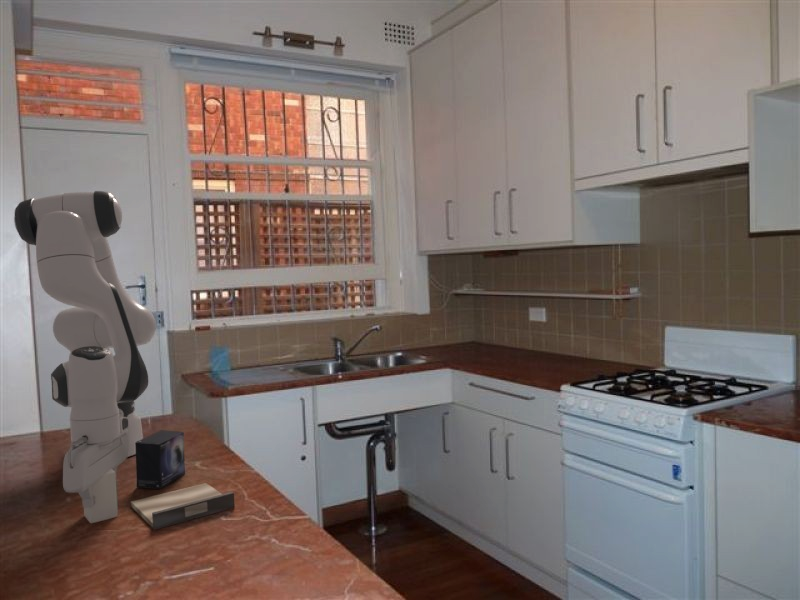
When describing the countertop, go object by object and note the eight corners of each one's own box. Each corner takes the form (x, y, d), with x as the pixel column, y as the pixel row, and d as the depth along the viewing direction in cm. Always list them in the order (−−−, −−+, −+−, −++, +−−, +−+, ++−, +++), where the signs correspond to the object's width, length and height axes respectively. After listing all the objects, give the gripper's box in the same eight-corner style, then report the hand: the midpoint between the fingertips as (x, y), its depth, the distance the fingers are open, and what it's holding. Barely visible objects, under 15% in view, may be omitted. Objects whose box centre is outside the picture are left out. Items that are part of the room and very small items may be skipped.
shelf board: (130, 506, 132) (130, 492, 132) (206, 487, 142) (205, 474, 142) (155, 530, 120) (154, 514, 120) (235, 507, 130) (234, 493, 130)
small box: (161, 490, 141) (159, 443, 140) (135, 488, 142) (132, 442, 141) (187, 473, 151) (185, 430, 150) (162, 472, 152) (160, 429, 152)
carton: (84, 515, 128) (81, 471, 127) (112, 508, 131) (109, 465, 130) (90, 523, 124) (87, 478, 123) (119, 516, 127) (116, 471, 126)
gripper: (85, 445, 116) (90, 519, 117) (132, 416, 136) (136, 479, 137) (50, 445, 116) (55, 519, 117) (103, 416, 136) (107, 480, 137)
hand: (99, 497), depth 127 cm, fingers closed on carton, 7 cm apart
